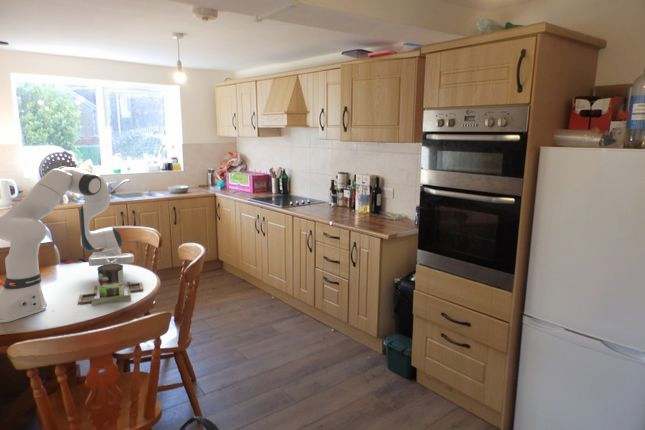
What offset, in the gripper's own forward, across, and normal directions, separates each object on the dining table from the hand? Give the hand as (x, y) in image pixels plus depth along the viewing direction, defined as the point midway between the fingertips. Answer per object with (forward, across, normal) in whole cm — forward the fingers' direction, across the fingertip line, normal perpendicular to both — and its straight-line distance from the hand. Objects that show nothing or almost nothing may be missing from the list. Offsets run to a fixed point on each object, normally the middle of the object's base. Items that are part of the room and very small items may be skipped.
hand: (111, 263), depth 206 cm
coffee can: (+16, 0, -12) cm, 20 cm away
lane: (+13, 0, -12) cm, 17 cm away
